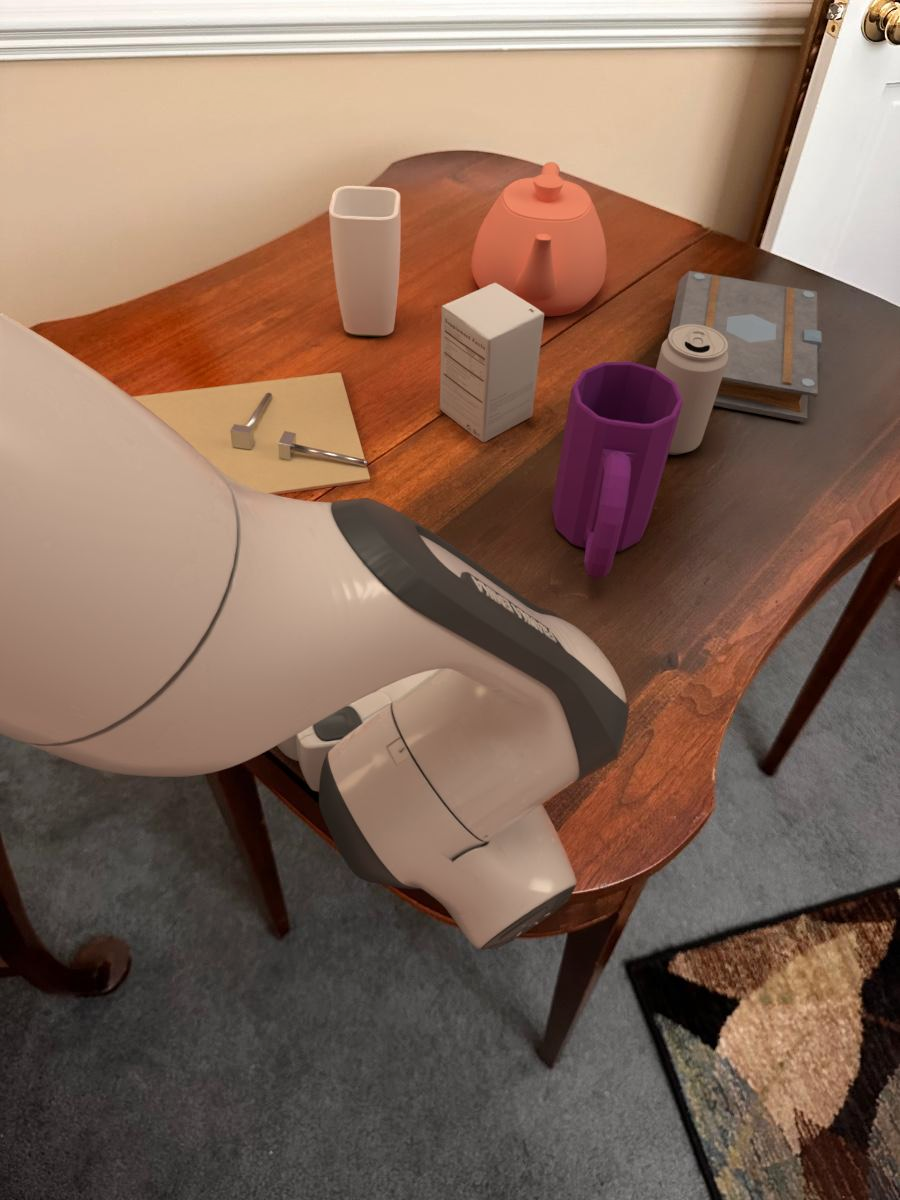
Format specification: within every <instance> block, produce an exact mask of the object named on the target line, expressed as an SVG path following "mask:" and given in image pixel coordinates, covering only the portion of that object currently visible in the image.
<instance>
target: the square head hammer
mask: <svg viewBox="0 0 900 1200" xmlns="http://www.w3.org/2000/svg"><path fill="white" fill-rule="evenodd" d="M271 398H272V394H271V393H269V392H268V393H266V395H265V396H264V398H263V399H262V401H261V402H260V404H259V406H258V407H257V409H256V410H255V412H254V413H253V415H252V417H251V418H250V420H249V421H248V423H247V424H246V426H244V425H237V424H234V425H233V427H232V428H231V430H230V434H231V440H232V447H236V448H243V449H249V450H251V449H252V448H253V446H254V444H255V438H254V430H253V427H254V425H255V423H256V422H257V420H258V419H259V417H260V415H261V414H262V412H263V411H264V409H265V407H266V406H267V404H268V403H269V401H270V399H271Z"/></svg>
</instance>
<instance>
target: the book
mask: <svg viewBox="0 0 900 1200" xmlns="http://www.w3.org/2000/svg"><path fill="white" fill-rule="evenodd" d="M687 324H696V325H702V326H706V327H710V328H712V329H714V330H716V331H718V332H719V333H721V334H722V335H723V336H724V337H725V338H726V340H727V342H728V348H727V353H728V361H727V364H726V367H725V370H724V373H723V377H722V380H721V383H720V386H719V389H718V392H717V395H716V398H715V401H714V404H713V407H714V406H715V407H720V408H725V409H731V410H736V411H742V412H746V413H747V412H748V413H752V414H758V415H762V416H768V417H774V418H780V419H783V420H790V421H794V422H795V421H796V422H801V423H806V422H807V420H808V397H813V398H817V396H818V391H819V389H818V355H819V352H820V349H821V347H822V345H823V333H822V331H821V330H818V291H815V290H808V289H802V288H797V287H791V286H786V285H785V286H784V285H778V284H772V283H766V282H761V281H753V280H748V279H743V278H742V279H741V278H736V277H729V276H723V275H718V274H712V273H711V274H710V273H707V272H706V273H705V272H699V271H692V270H689V271H687V272H686V273H685V274H684V275H683V276H682V277H681V278H679V280H678V285H677V289H676V293H675V299H674V304H673V310H672V314H671V320H670V324H669V329H668V335H669V333H670V331H671V330H672V329H674V328H675V327H678V326H681V325H687ZM668 335H667V336H668Z"/></svg>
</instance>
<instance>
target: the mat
mask: <svg viewBox="0 0 900 1200" xmlns="http://www.w3.org/2000/svg"><path fill="white" fill-rule="evenodd" d="M268 392H269V393H271V394H272V398H271V399H270V401H269V403H268V404H267V406H266V407H265V409H264V411H263V412H262V414H261V415H260V417H259V419H258V420H257V422H256V423H255V425H254V427H253V430H254V438H255V444H254V446H253V448H252V449H251V450H249V449H243V448H236V447H232V440H231V434H230V430H231V428H232V427H233V425H234V424H237V425H244V426H246V424H247V423H248V421H249V420H250V418H251V417H252V415H253V413H254V412H255V410H256V409H257V407H258V406H259V404H260V402H261V401H262V399H263V398H264V396H265V395H266V393H268ZM132 397H133V398H134V399H136V400H137V401H139V402H140V403H141V404H142V405H144V406H145V407H146V408H147V409H149V410H150V411H151V412H153V413H154V414H155V415H156V416H158V417H159V418H160V419H161V420H163V421H164V422H165V423H166V424H168V425H169V426H170V427H171V428H173V429H174V430H175V431H176V432H178V433H179V434H180V435H181V436H182V437H183V438H184V439H185V440H187V441H188V442H189V443H190V444H191V445H192V446H193V447H195V448H196V449H197V450H198V451H199V452H200V453H201V454H203V455H204V456H205V457H206V458H207V459H208V460H209V461H210V462H211V463H213V464H214V465H215V466H216V467H217V468H218V469H220V470H221V471H222V472H223V473H224V474H226V475H227V476H229V477H230V478H232V479H234V480H236V481H238V482H239V483H242V484H244V485H246V486H248V487H251V488H254V489H256V490H259V491H262V492H266V493H269V494H273V495H277V496H278V495H282V494H283V495H285V494H290V493H291V494H292V493H298V492H303V491H304V492H305V491H312V490H318V489H325V488H333V487H339V486H346V485H355V484H361V483H368V482H371V476H370V472H369V468H368V465H367V466H366V467H363V466H358V465H354V464H350V463H345V462H341V461H336V460H332V459H328V458H323V457H319V456H314V455H310V454H306V453H301V452H297V451H295V452H294V454H293V456H292V458H291V460H290V461H289V460H285V459H280V458H279V448H278V443H279V441H280V439H281V437H282V435H283V433H284V431H288V432H292V433H296V444H298V445H302V446H307V447H311V448H315V449H320V450H324V451H329V452H333V453H338V454H342V455H346V456H351V457H355V458H360V459H364V460H366V459H365V454H364V450H363V447H362V443H361V439H360V437H359V433H358V430H357V426H356V422H355V418H354V415H353V411H352V408H351V404H350V399H349V397H348V393H347V390H346V387H345V383H344V379H343V376H342V372H340V371H339V372H331V373H330V372H329V373H322V374H313V375H305V376H296V377H287V378H280V379H271V380H270V379H269V380H262V381H254V382H245V383H237V384H229V385H219V386H212V387H203V388H194V389H186V390H178V391H169V392H160V393H159V392H158V393H152V394H144V395H135V396H132Z"/></svg>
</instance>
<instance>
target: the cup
mask: <svg viewBox="0 0 900 1200" xmlns="http://www.w3.org/2000/svg"><path fill="white" fill-rule="evenodd" d="M401 209H402V208H401V193H400V192H399V191H397V190H396V189H394V188H392V187H385V186H363V185H361V186H360V185H344V186H339V187H337V188H336V189H334V191H333V192H332V194H331V198H330V204H329V208H328V216H329V217H328V218H329V219H328V220H329V230H330V232H329V233H330V243H331V252H332V253H331V254H332V263H333V272H334V279H335V287H336V288H335V289H336V294H337V299H338V305H339V310H340V315H341V321H342V325H343V329H344V331H345V332H346V333H349V334H350V335H353V336H357V337H358V336H359V337H386V336H387V335H390V334H391V333H393V332H394V330H395V324H396V323H395V321H396V312H397V304H398V296H399V283H400V273H401V272H400V270H401V269H400V267H401V236H402V235H401V233H402V232H401V231H402V229H401V227H402V223H401V222H402V221H401V220H402V219H401V218H402V217H401V212H402V211H401Z"/></svg>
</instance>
